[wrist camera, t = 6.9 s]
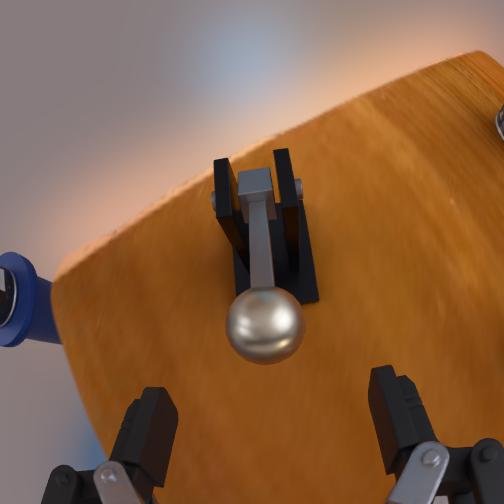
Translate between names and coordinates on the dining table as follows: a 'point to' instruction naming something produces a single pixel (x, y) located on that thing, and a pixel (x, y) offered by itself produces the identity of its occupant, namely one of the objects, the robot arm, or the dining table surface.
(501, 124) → the coffee can
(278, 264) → the switch bracket
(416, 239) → the dining table surface
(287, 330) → the switch lever
